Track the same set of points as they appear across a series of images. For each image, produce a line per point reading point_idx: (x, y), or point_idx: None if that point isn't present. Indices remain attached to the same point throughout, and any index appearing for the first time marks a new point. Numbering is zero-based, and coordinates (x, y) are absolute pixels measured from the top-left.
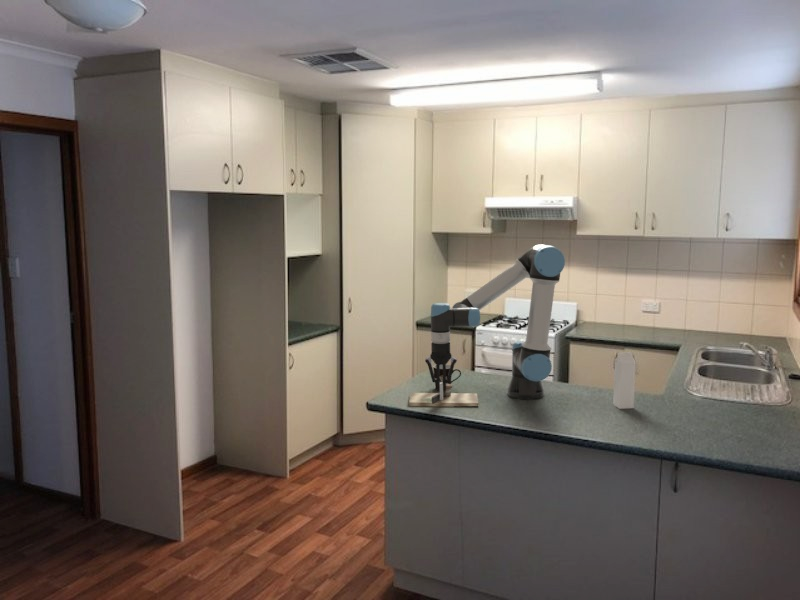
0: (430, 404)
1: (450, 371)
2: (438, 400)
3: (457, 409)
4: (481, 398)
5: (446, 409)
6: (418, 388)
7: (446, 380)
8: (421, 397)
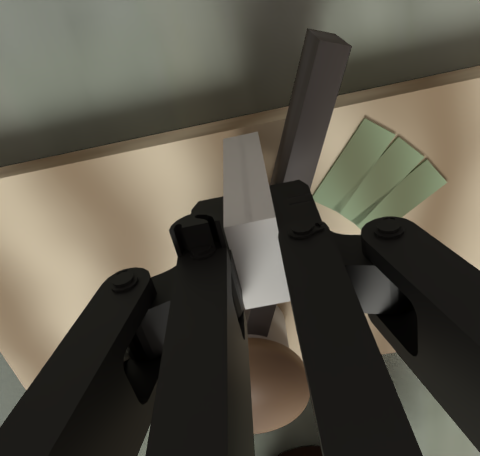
0: (348, 99)
1: (34, 441)
2: (277, 153)
3: (62, 57)
4: (3, 369)
5: (167, 28)
6: (463, 448)
7: (168, 291)
8: (450, 238)
